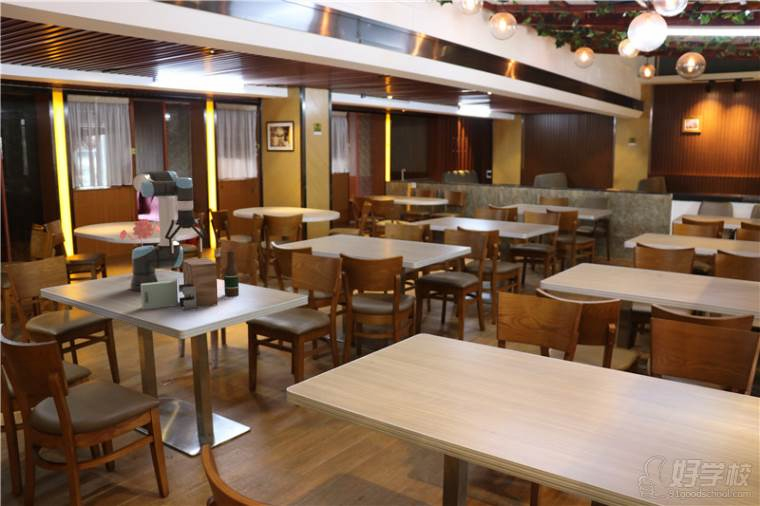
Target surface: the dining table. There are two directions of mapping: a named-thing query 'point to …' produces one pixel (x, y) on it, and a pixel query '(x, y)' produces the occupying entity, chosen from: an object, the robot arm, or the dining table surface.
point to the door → (159, 294)
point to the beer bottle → (231, 277)
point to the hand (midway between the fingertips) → (187, 252)
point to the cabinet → (202, 280)
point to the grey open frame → (188, 302)
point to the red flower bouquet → (141, 230)
